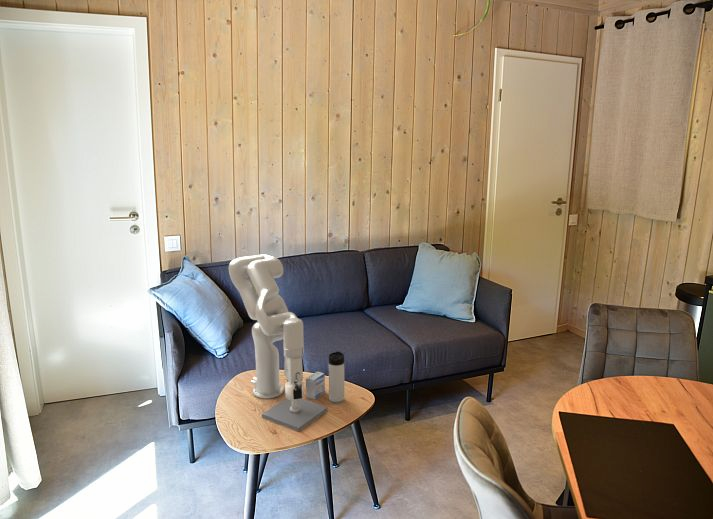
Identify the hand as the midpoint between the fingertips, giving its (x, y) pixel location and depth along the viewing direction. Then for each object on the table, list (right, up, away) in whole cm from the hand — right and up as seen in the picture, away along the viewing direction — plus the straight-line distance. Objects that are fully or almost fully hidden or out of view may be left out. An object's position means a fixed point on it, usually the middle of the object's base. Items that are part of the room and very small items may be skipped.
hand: (294, 393), depth 208 cm
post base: (0, -8, +2) cm, 9 cm away
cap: (0, -1, 0) cm, 1 cm away
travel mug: (+16, -6, +13) cm, 21 cm away
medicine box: (+7, -5, +18) cm, 19 cm away
